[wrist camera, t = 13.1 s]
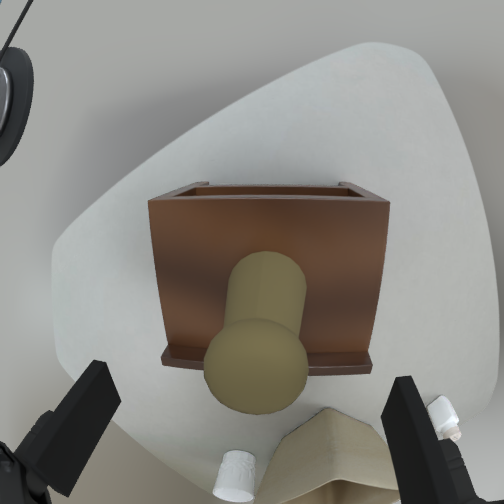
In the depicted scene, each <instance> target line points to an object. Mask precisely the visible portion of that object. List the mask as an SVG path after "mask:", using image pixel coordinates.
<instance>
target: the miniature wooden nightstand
mask: <svg viewBox="0 0 504 504" xmlns="http://www.w3.org/2000/svg"><path fill="white" fill-rule="evenodd" d="M148 209H149V220H150V230H151V239H152V247H153V255H154V263H155V270H156V277H157V284H158V291H159V297H160V303H161V309H162V315H163V320H164V326H165V331H166V336H167V341H168V345H167V347H166V349H165V350H164V352H163V354H162V356H161V361H162V365H164V366H171V367H178V368H186V369H195V370H204V357H205V354H206V352H207V350H208V347H209V345H210V343H211V340H212V339H213V338H214V337H215V336H216V335H217V334H218V333H219V332H220V331H221V330H222V329H223V326H224V317H225V308H226V299H227V290H228V281H229V277H230V275H231V272H232V270H233V268H234V267H235V266H236V265H237V263H238V262H239V261H240V260H241V259H243V258H245V257H246V256H248V255H250V254H252V253H257V252H262V251H270V252H278V253H280V254H283V255H285V256H287V257H289V258H291V259H292V260H293V261H294V262H295V263H296V264H298V265H299V267H300V268H301V270H302V272H303V274H304V275H305V279H306V285H307V290H306V296H305V302H304V309H303V315H302V321H301V327H300V333H299V340H300V342H301V343H302V345H303V346H304V348H305V350H306V354H307V359H308V366H309V372H308V376H327V375H355V374H370V373H371V370H372V366H373V364H372V362H371V359H370V356H369V353H368V348H369V344H370V340H371V335H372V330H373V325H374V320H375V315H376V310H377V305H378V299H379V293H380V287H381V281H382V274H383V267H384V260H385V252H386V243H387V234H388V223H389V212H390V202H389V201H387V200H385V199H383V198H382V197H380V196H377V195H375V194H373V193H371V192H369V191H367V190H365V189H363V188H361V187H359V186H357V185H354V184H352V183H346V182H339V186H324V185H209V182H196V183H193V184H190V185H188V186H185V187H182V188H179V189H177V190H174V191H171V192H169V193H166V194H163V195H161V196H158V197H156V198H153V199H151V200H148Z"/></svg>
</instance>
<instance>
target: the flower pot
mask: <svg viewBox="0 0 504 504" xmlns="http://www.w3.org/2000/svg"><path fill="white" fill-rule="evenodd" d="M399 500H401V499H400V494H399V489H398V485H397V480H396V476H395V471H394V467H393V463H392V459H391V454H390V450H389V447H388V446H387V444H386V443H385V442H384V440H383V439H382V438H381V437H380V435H379V434H378V433H377V432H376V431H375V430H374V428H373V427H372V426H370V425H367V424H365V423H363V422H360V421H358V420H356V419H353V418H351V417H349V416H347V415H345V414H342V413H340V412H338V411H336V410H334V409H331V408H326V409H324V410H322V411H321V412H320V413H318V414H317V415H316V416H314V417H313V418H311V419H310V420H309V421H307V422H306V423H304V424H303V425H301V426H300V427H299V428H297V429H296V430H294V431H293V432H291V433H290V434H288V435H287V436H285V437H284V438H282V440H281V442H280V443H279V445H278V447H277V449H276V451H275V453H274V455H273V457H272V459H271V461H270V463H269V465H268V467H267V469H266V472H265V474H264V476H263V479H262V481H261V484H260V486H259V489H258V492H257V494H256V497H255V500H254V503H253V504H393V503H395V502H397V501H399Z"/></svg>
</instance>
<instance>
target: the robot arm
mask: <svg viewBox="0 0 504 504" xmlns="http://www.w3.org/2000/svg"><path fill="white" fill-rule="evenodd" d="M1 1H2V0H0V3H1ZM32 2H33V0H28V2H27V4H26V6H25V8H24V10H23V11H22V13H21V15H20V17H19V19H18V21H17V23H16V24H15V26H14V28H13V30H12V32H11V33H10V35H9V37H8V39H7V41H6V43H5V45H4V47H3V48H2V50H1V52H0V62H1V60H2V58H3V56H4V54H5V52H6V50H7V48H8V46H9V44H10V42H11V41H12V39H13V37H14V35H15V33H16V31H17V29H18V27H19V25H20V24H21V22H22V20H23V18H24V16H25V15H26V13H27V11H28V9H29V7H30V5H31V4H32ZM13 95H14V84H13V78H12V75H11V72H10V71H9V70H8V69H7V68H5V67H0V138H1V136H2V134H3V132H4V130H5V128H6V125H7V123H8V120H9V117H10V113H11V109H12V103H13ZM120 403H121V399H120V397H119V394H118V392H117V389H116V387H115V384H114V382H113V379H112V377H111V374H110V372H109V369H108V366H107V363H106V362H102V361H98V360H93V361H92V362H91V364H90V365H89V366H88V367H87V369H86V370H85V371H84V372H83V374H82V375H81V376H80V378H79V379H78V380H77V381H76V383H75V384H74V385H73V387H72V388H71V389H70V391H69V392H68V393H67V395H66V396H65V397H64V399H63V400H62V401H61V403H60V404H59V405H58V407H57V408H56V409H55V411H54V412H53V411H50V410H49V411H47V412H45V413H44V414H43V415H41V416H40V418H39V419H38V420H37V422H36V423H35V425H34V426H33V427H32V428H31V431H29V433H28V434H27V435H26V436H25V438H24V439H23V441H22V442H21V444H20V445H19V446H18V448H17V449H16V450H15V452H14V453H12V452H11V450H10V449H9V448H8V447H7V446H6V444H5V443H3V442H1V441H0V504H52V502H51V498H50V494H49V491H48V489H47V486H48V485H49V486H50V487H51V488H52V489H54V490H55V491H56V492H58V493H60V494H62V495H64V496H66V497H69V495H70V493H71V491H72V489H73V488H74V486H75V484H76V482H77V479H78V478H79V476H80V474H81V472H82V470H83V469H84V467H85V465H86V463H87V461H88V459H89V458H90V456H91V454H92V452H93V451H94V449H95V447H96V445H97V443H98V442H99V440H100V438H101V436H102V434H103V433H104V431H105V429H106V427H107V425H108V424H109V422H110V420H111V419H112V417H113V415H114V413H115V412H116V410H117V408H118V406H119V405H120ZM381 420H382V424H383V427H384V431H385V435H386V439H387V443H388V446H389V450H390V454H391V459H392V463H393V467H394V471H395V476H396V480H397V485H398V489H399V494H400V499H401V504H504V500H499V501H492V502H486V501H485V500H484V499H482V498H479V497H478V496H477V495H476V493H475V491H474V488H473V485H472V482H471V479H470V477H469V474H468V471H467V469H466V466H465V465H464V461H463V458H461V453H460V451H459V448H458V446H457V445H456V444H455V443H454V442H453V441H452V440H451V439H450V438H447V439H443V440H438V438H437V435H436V433H435V430H434V428H433V425H432V423H431V420H430V418H429V415H428V413H427V410H426V408H425V406H424V403H423V401H422V399H421V397H420V394H419V392H418V390H417V388H416V385H415V383H414V381H413V379H412V377H411V376H403V377H396V378H395V381H394V384H393V387H392V389H391V392H390V395H389V397H388V400H387V402H386V405H385V407H384V410H383V412H382V415H381Z"/></svg>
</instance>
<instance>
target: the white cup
mask: <svg viewBox="0 0 504 504" xmlns="http://www.w3.org/2000/svg"><path fill="white" fill-rule="evenodd" d="M255 463H256V458H255V457H254V456H253V455H252V454H250V453H248V452H245V451H240V450H232V451H228V452H226V453H225V454H224V457H223V460H222V464H221V465H220V469H219V472H218V475H217V478H216V482H215V485H214V489H213V494H214V495H215V496H216V497H218V498H220V499H223V500H226V501H231V502H248V501H251V500H253V498H254V487H255Z"/></svg>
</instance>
